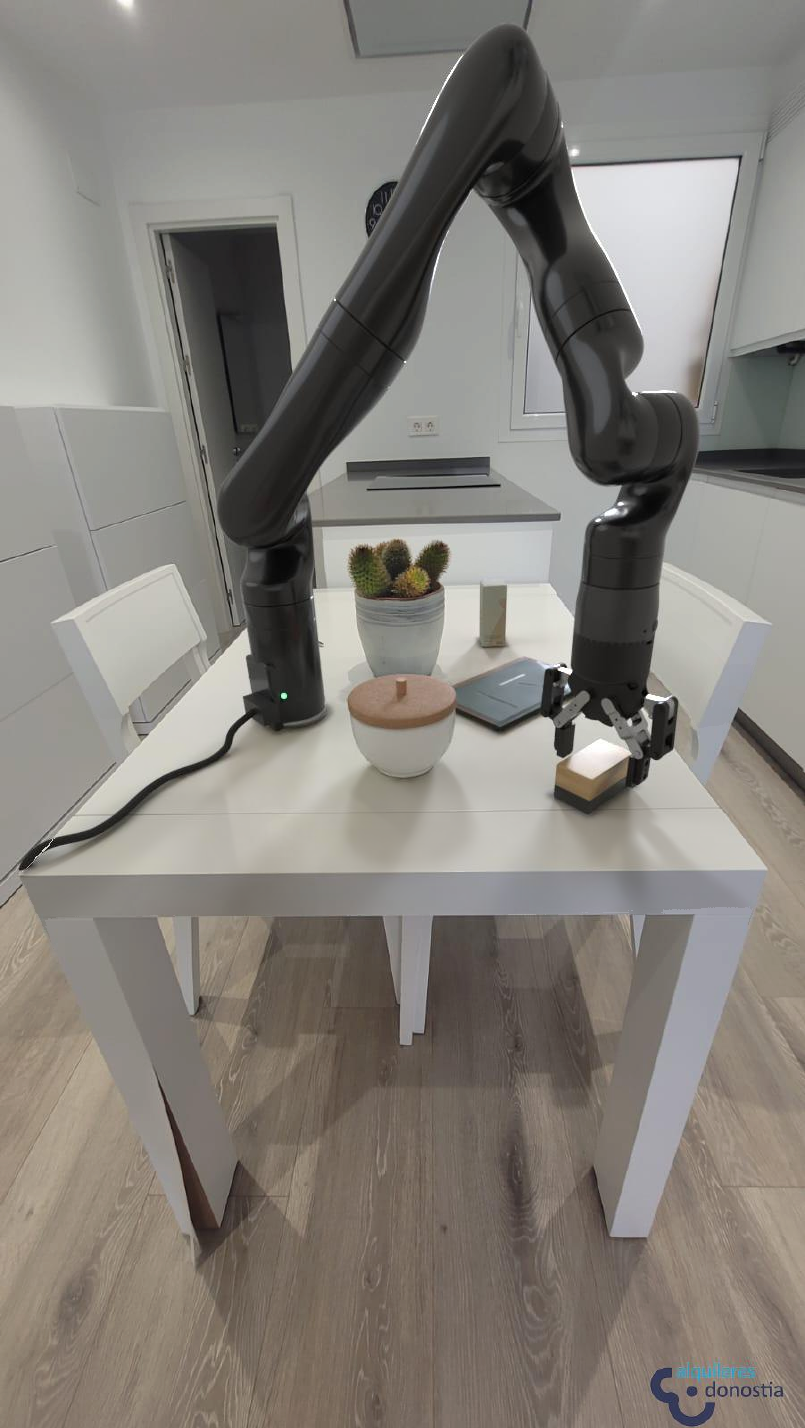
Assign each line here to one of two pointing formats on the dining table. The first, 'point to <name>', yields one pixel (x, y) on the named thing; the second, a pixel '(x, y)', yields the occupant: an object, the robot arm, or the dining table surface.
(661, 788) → the dining table surface
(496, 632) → the box
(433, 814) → the dining table surface
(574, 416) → the robot arm
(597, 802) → the eraser
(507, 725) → the chalkboard
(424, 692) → the lidded bowl
